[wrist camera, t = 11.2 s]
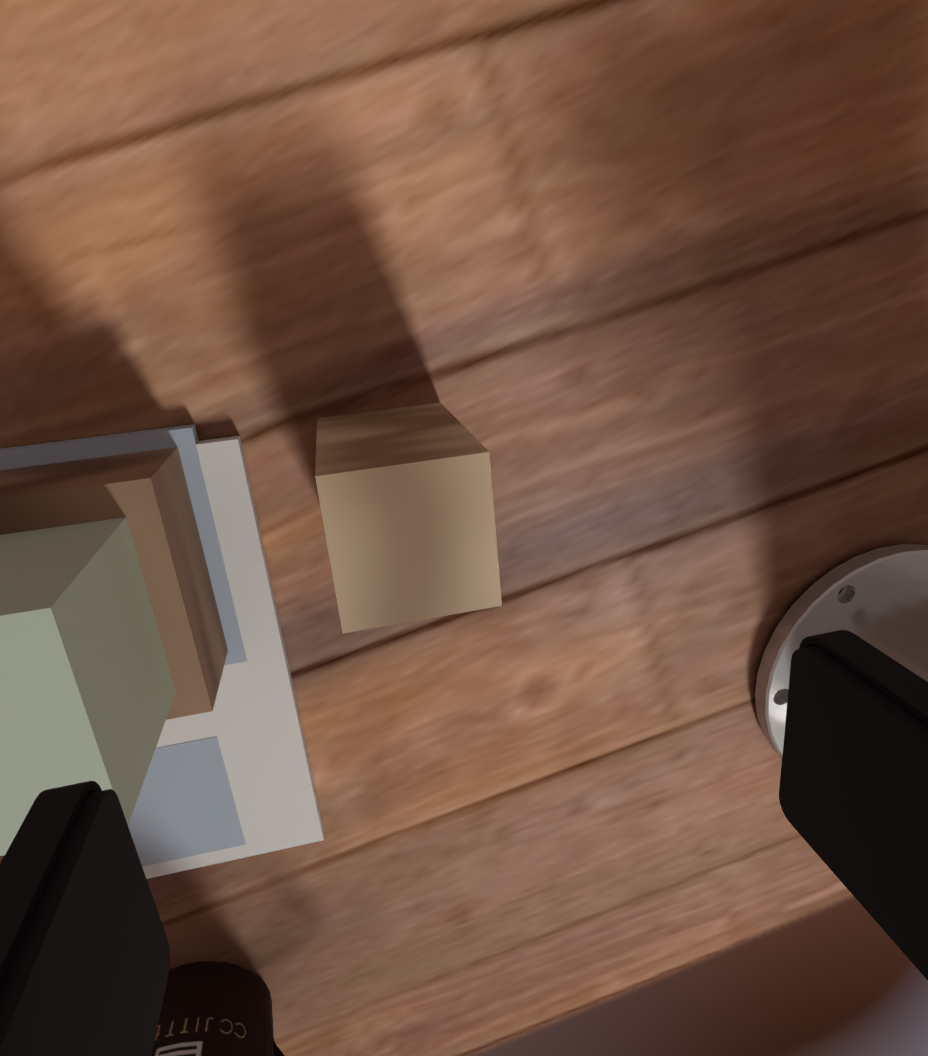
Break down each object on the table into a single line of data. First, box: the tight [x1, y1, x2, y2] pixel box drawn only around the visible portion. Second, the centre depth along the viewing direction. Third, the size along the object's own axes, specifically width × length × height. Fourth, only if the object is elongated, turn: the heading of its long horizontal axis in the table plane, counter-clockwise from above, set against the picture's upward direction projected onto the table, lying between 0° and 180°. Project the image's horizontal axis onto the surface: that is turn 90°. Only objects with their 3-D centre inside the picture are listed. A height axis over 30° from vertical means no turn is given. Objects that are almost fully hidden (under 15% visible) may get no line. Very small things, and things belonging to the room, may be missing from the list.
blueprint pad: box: [0, 424, 324, 879], centre depth 26 cm, size 12×19×1 cm, turn 5°
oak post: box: [315, 403, 502, 633], centre depth 22 cm, size 4×4×8 cm
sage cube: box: [0, 517, 176, 856], centre depth 18 cm, size 6×6×6 cm
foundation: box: [0, 447, 228, 720], centre depth 22 cm, size 8×8×4 cm
